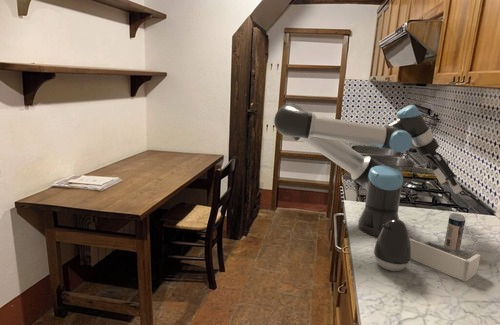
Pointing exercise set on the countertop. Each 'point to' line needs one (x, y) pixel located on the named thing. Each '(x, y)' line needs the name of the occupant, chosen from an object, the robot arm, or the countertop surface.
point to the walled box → (444, 260)
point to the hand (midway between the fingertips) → (450, 187)
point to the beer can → (454, 232)
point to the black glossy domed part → (393, 246)
